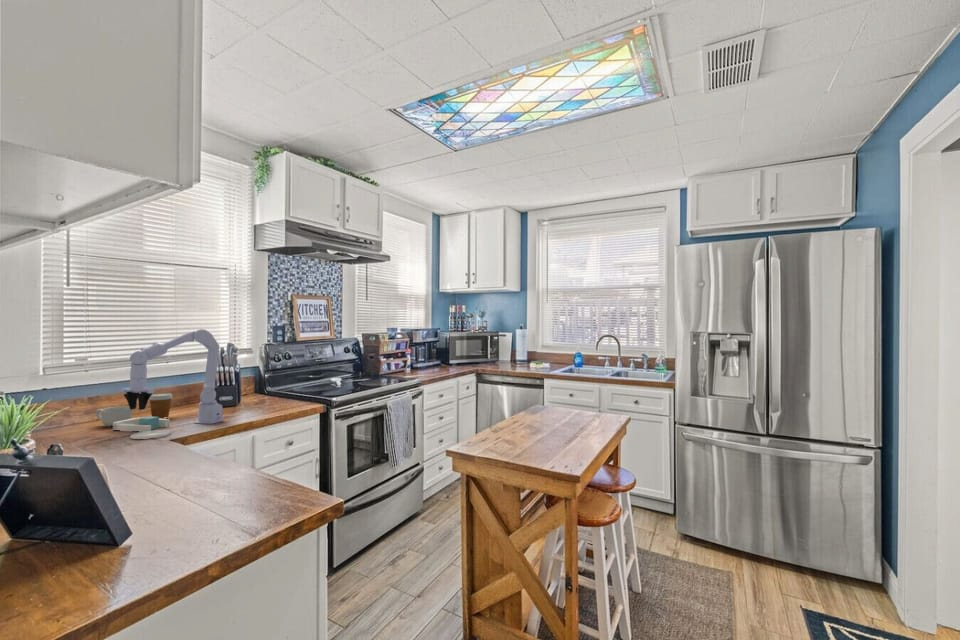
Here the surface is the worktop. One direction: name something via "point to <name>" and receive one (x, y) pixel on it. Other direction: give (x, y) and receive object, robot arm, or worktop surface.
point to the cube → (150, 421)
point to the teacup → (114, 414)
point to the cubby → (133, 425)
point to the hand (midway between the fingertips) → (137, 409)
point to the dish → (151, 434)
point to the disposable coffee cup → (160, 405)
